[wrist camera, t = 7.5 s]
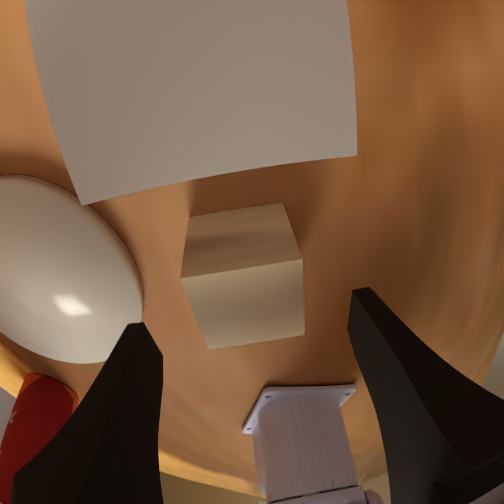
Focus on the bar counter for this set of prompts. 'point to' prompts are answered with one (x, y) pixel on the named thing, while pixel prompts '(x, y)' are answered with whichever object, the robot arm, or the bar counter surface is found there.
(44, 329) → the ceramic dish
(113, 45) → the grey open box
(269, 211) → the maple block
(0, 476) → the paper cup
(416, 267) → the bar counter surface
